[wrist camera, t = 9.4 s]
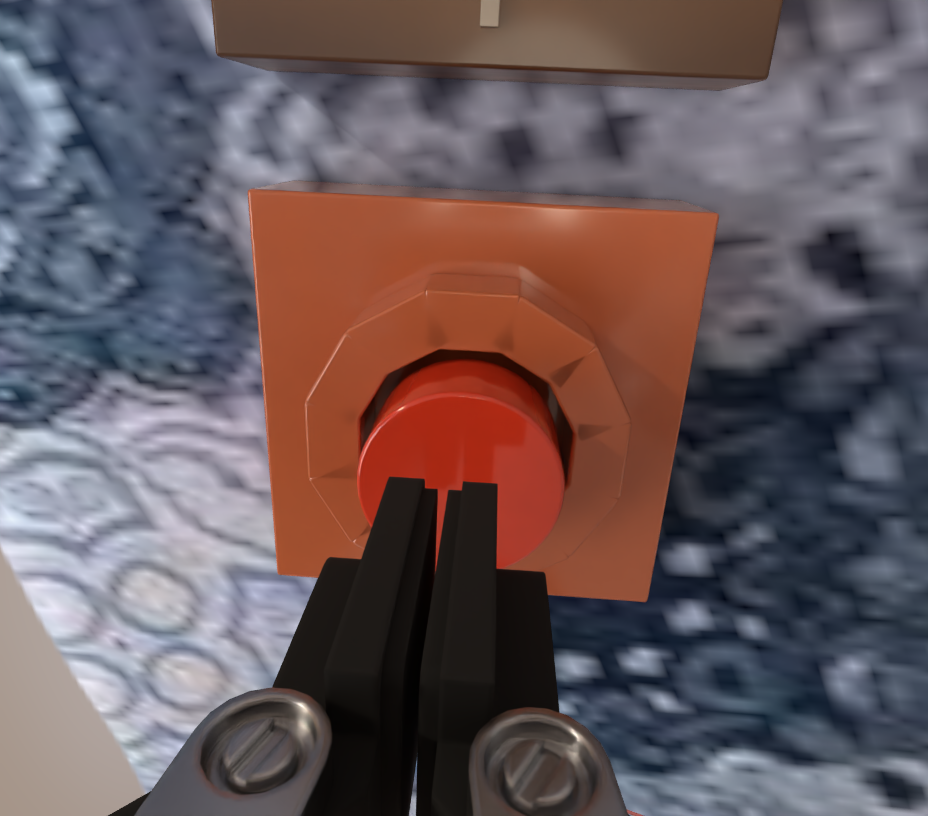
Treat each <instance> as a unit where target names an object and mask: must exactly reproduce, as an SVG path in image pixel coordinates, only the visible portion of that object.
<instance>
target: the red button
mask: <svg viewBox="0 0 928 816" xmlns="http://www.w3.org/2000/svg"><path fill="white" fill-rule="evenodd" d="M390 476H391V477H406V478H421V479H425V488H432V489H438V506H437V536H436V566H437V559H438V553H439V546H440V540H441V534H442V527H443V521H444V514H445V508H446V501H447V495H448V490H462V484H463V481H467V482H482V483H497V484H498V500H497V569H504V568H506V567H509V566H511V565H513V564H515V563H517V562H519V561H520V560H522V559H523V558H525V557H527V556H528V555H529V554H530V553H532V552H533V551H534V550H535V549H537V548H538V546H539V545H540V544H541V543H542V542H543V541H544V540H545V539H546V538H547V536H548V535H549V533H550V532H551V531H552V529H553V527H554V525H555V524H556V522H557V520H558V518H559V515H560V512H561V509H562V505H563V500H564V494H565V479H564V470H563V465H562V459H561V453H560V447H559V442H558V436H557V430H556V426H555V422H554V419H553V417H552V414H551V412H550V409H549V408H548V406H547V404H546V403H545V401H544V399H543V398H542V397H541V395H540V394H539V393H538V392H537V390H536V389H535V388H534V387H533V386H531V385H530V384H529V383H528V382H527V381H526V380H525V379H523V378H522V377H520V376H519V375H518V374H516V373H514V372H512V371H510V370H509V369H507V368H504V367H502V366H499V365H497V364H494V363H490V362H486V361H482V360H474V359H453V360H445V361H441V362H437V363H433V364H431V365H428V366H426V367H423V368H421V369H419V370H417V371H416V372H414V373H412V374H410V375H409V376H408V377H407V378H405V379H404V380H403V381H401V382H400V383H399V384H398V385H397V386H396V387H395V388H394V389H393V391H392V392H391V393H390V395H389V396H388V397H387V399H386V400H385V402H384V404H383V406H382V408H381V410H380V412H379V414H378V416H377V418H376V421H375V423H374V425H373V427H372V429H371V431H370V433H369V436H368V438H367V440H366V442H365V444H364V447H363V449H362V452H361V455H360V457H359V462H358V467H357V480H356V482H357V492H358V497H359V501H360V505H361V508H362V510H363V513H364V515H365V517H366V519H367V521H368V523H369V525H370V526H371V528H372V525H373V522H374V519H375V516H376V513H377V510H378V507H379V504H380V501H381V498H382V495H383V492H384V489H385V486H386V483H387V480H388V478H389V477H390ZM435 572H436V567H435Z"/></svg>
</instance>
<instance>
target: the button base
mask: <svg viewBox="0 0 928 816" xmlns="http://www.w3.org/2000/svg"><path fill="white" fill-rule="evenodd" d="M248 203H249V216H250V228H251V241H252V254H253V267H254V279H255V292H256V305H257V318H258V330H259V343H260V356H261V368H262V381H263V394H264V407H265V419H266V432H267V445H268V457H269V470H270V483H271V496H272V508H273V521H274V534H275V547H276V559H277V572H278V574H279V575H287V576H300V577H314V578H318V577H319V575H320V572H321V570H322V567H323V565H324V563H325V561H326V560H327V559H328V558H329V557H338V558H352V559H361V558H362V555H363V552H364V549H365V546H366V543H367V540H368V537H369V534H370V531H371V526H370V525H369V523H368V521H367V519H366V517H365V515H364V513H363V510H362V508H361V505H360V501H359V497H358V492H357V482H356V480H357V467H358V462H359V457H360V455H361V452H362V449H363V447H364V444H365V442H366V440H367V438H368V436H369V433H370V431H371V429H372V427H373V425H374V423H375V421H376V418H377V416H378V414H379V412H380V410H381V408H382V406H383V404H384V402H385V400H386V399H387V397H388V396H389V395H390V393H391V392H392V391H393V389H394V388H395V387H396V386H397V385H398V384H399V383H400V382H401V381H403V380H404V379H405V378H407V377H408V376H409V375H410V374H412V373H414V372H416V371H417V370H419V369H421V368H423V367H426V366H428V365H431V364H433V363H437V362H441V361H445V360H453V359H474V360H482V361H486V362H490V363H494V364H497V365H499V366H502V367H504V368H507V369H509V370H510V371H512V372H514V373H516V374H518V375H519V376H520V377H522V378H523V379H525V380H526V381H527V382H528V383H529V384H530V385H531V386H533V387H534V388H535V389H536V390H537V392H538V393H539V394H540V395H541V397H542V398H543V399H544V401H545V403H546V404H547V406H548V408H549V409H550V412H551V414H552V417H553V419H554V422H555V426H556V430H557V436H558V442H559V447H560V453H561V459H562V465H563V470H564V479H565V494H564V500H563V505H562V509H561V512H560V515H559V518H558V520H557V522H556V524H555V525H554V527H553V529H552V531H551V532H550V533H549V535H548V536H547V538H546V539H545V540H544V541H543V542H542V543H541V544H540V545H539V546H538V548H537V549H535V550H534V551H533V552H532V553H530V554H529V555H528V556H527V557H525V558H523V559H522V560H520V561H519V562H517V563H515V564H513V565H511V566H509V567H506V568H504V569H510V570H524V571H539V572H544V573H545V575H546V582H547V592H548V595H557V596H570V597H584V598H597V599H611V600H624V601H637V602H647V600H648V595H649V590H650V585H651V579H652V574H653V569H654V563H655V558H656V552H657V547H658V542H659V536H660V531H661V526H662V520H663V515H664V510H665V504H666V499H667V493H668V488H669V483H670V477H671V472H672V467H673V461H674V456H675V451H676V445H677V440H678V435H679V429H680V424H681V418H682V413H683V408H684V402H685V397H686V392H687V386H688V381H689V376H690V370H691V365H692V359H693V354H694V349H695V343H696V338H697V333H698V327H699V322H700V317H701V311H702V306H703V301H704V295H705V290H706V284H707V279H708V274H709V268H710V263H711V258H712V252H713V247H714V242H715V236H716V231H717V225H718V220H719V215H718V214H717V213H715V212H713V211H710V210H707V209H704V208H701V207H698V206H695V205H692V204H690V203H687V202H684V201H681V200H667V199H648V198H628V197H608V196H588V195H569V194H549V193H529V192H510V191H490V190H470V189H450V188H431V187H411V186H391V185H371V184H352V183H332V182H312V181H289V182H284V183H279V184H273V185H268V186H263V187H258V188H253V189H250V190H248Z"/></svg>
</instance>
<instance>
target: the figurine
mask: <svg viewBox="0 0 928 816" xmlns="http://www.w3.org/2000/svg"><path fill="white" fill-rule="evenodd" d="M626 810H627V809H626ZM627 813H628V814H631V815H634V816H643V815H641V814H638V813H635V812H632V811H629V810H627Z"/></svg>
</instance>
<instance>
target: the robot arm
mask: <svg viewBox="0 0 928 816" xmlns="http://www.w3.org/2000/svg"><path fill="white" fill-rule="evenodd" d="M497 500H498V484H497V483H482V482H467V481H463V484H462V490H448V495H447V501H446V508H445V514H444V521H443V527H442V534H441V540H440V546H439V553H438V559H437V566H436V536H437V506H438V489H432V488H425V479H421V478H406V477H391V476H390V477H389V478H388V480H387V483H386V486H385V489H384V492H383V495H382V498H381V501H380V504H379V507H378V510H377V513H376V516H375V519H374V522H373V525H372V528H371V531H370V534H369V537H368V540H367V543H366V546H365V549H364V552H363V555H362V558H361V559H352V558H338V557H329V558H328V559H327V560H326V561H325V563H324V565H323V567H322V570H321V572H320V575H319V577H318V579H317V582H316V584H315V587H314V589H313V591H312V594H311V596H310V598H309V601H308V603H307V606H306V608H305V610H304V613H303V615H302V618H301V620H300V622H299V625H298V627H297V629H296V632H295V634H294V637H293V639H292V641H291V644H290V646H289V649H288V651H287V653H286V656H285V658H284V661H283V663H282V665H281V668H280V670H279V672H278V675H277V677H276V680H275V682H274V684H273V687H272V688H266V689H260V690H254V691H249V692H247V693H244V694H242V695H239V696H237V697H234V698H232V699H229V700H228V701H226V702H225V703H223V704H222V705H220V706H219V707H218V708H216V709H215V710H213V711H212V712H210V713H209V714H208V716H207V717H206V718H205V719H204V720H203V721H202V722H201V723H200V724H199V725H198V726H197V728H196V729H195V730H194V731H193V733H192V734H191V736H190V737H189V739H188V740H187V741H186V743H185V744H184V746H183V747H182V748H181V750H180V751H179V753H178V754H177V755H176V757H175V758H174V760H173V761H172V763H171V764H170V765H169V767H168V768H167V770H166V771H165V772H164V774H163V775H162V777H161V778H160V780H159V781H158V782H157V784H156V785H155V787H154V788H153V789H152V791H150V792H149V793H147V794H145V795H143V796H142V797H140V798H138V799H136V800H135V801H133V802H131V803H129V804H128V805H126V806H124V807H123V808H121V809H119V810H117V811H115V812H114V813H112V814H110V815H108V816H409V810H410V803H411V796H412V788H413V781H414V774H415V767H416V760H417V798H416V816H630V815H629V814H628V813H627V810H626V807H625V804H624V801H623V798H622V795H621V792H620V789H619V786H618V783H617V780H616V777H615V774H614V771H613V768H612V765H611V762H610V760H609V758H608V756H607V754H606V752H605V751H604V749H603V747H602V745H601V743H600V742H599V741H598V740H597V739H596V737H595V736H594V735H593V734H592V733H591V732H590V731H589V730H588V729H587V728H586V727H585V726H583V725H582V724H580V723H578V722H577V721H575V720H574V719H572V718H571V717H569V716H567V715H564V714H561V713H559V704H558V694H557V683H556V673H555V663H554V653H553V643H552V633H551V622H550V612H549V602H548V592H547V582H546V575H545V573H544V572H539V571H524V570H510V569H497ZM435 567H436V572H435ZM417 752H418V754H417Z"/></svg>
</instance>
